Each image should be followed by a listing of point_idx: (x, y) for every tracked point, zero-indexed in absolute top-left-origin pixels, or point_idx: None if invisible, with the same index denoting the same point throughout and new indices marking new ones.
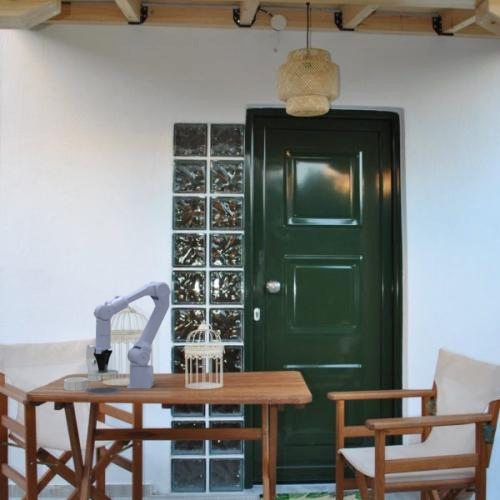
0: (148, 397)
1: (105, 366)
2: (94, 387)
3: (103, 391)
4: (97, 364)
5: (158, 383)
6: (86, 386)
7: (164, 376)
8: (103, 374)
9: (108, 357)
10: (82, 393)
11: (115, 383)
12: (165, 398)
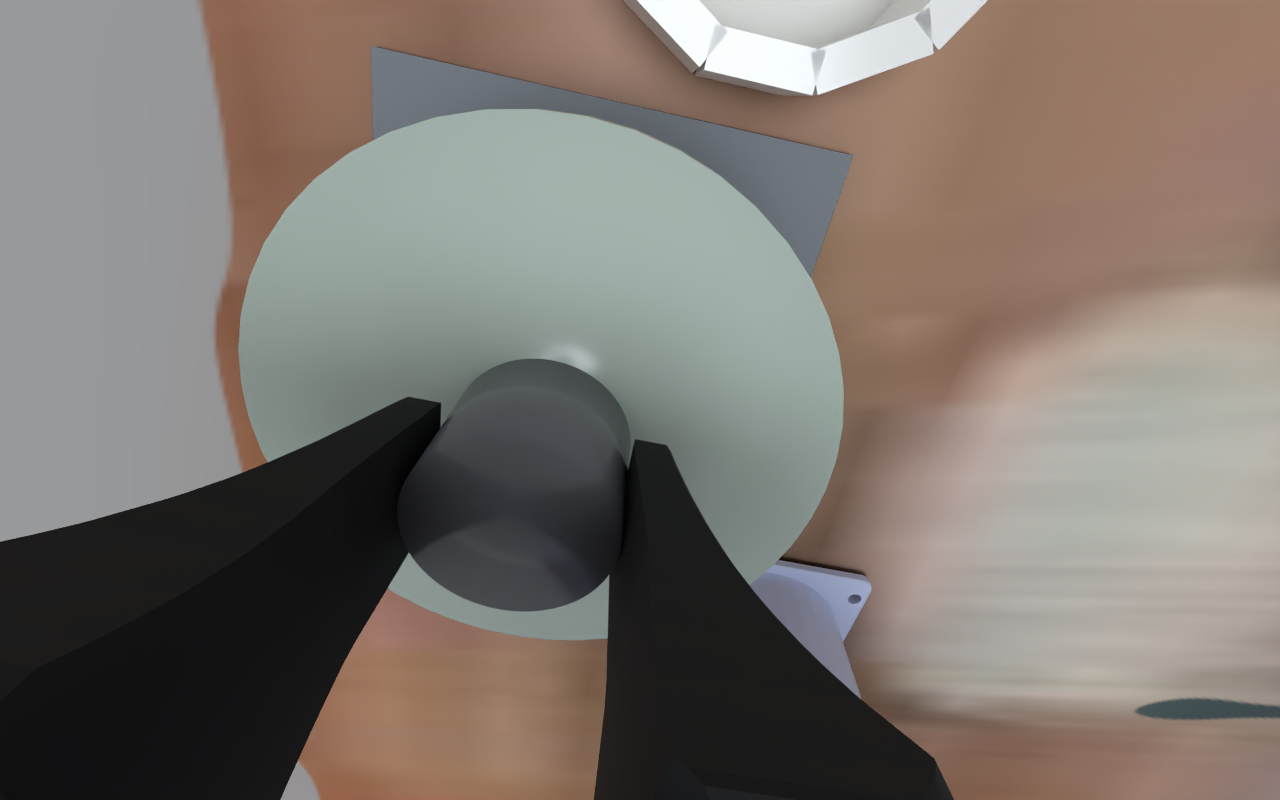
0: None
1: (443, 560)
2: (796, 197)
3: None
4: (306, 446)
5: None
6: (708, 77)
7: (1187, 788)
8: (266, 458)
9: (598, 782)
10: (371, 47)
11: (1041, 435)
12: None
